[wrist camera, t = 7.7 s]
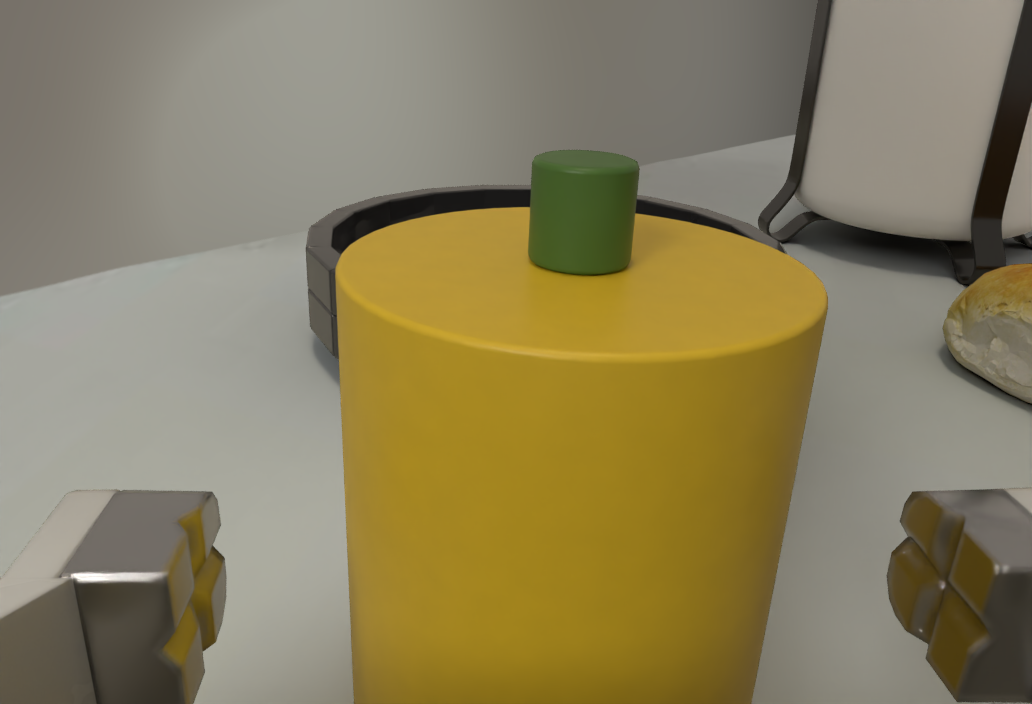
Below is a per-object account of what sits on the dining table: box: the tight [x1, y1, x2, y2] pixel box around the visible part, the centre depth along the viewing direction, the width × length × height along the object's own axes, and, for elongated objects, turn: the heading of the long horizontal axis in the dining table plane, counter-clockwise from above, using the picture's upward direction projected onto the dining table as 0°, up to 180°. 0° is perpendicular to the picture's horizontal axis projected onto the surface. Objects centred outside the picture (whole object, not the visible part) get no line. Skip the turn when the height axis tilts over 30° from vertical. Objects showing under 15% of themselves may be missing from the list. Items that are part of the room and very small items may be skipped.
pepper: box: [335, 150, 828, 704], centre depth 11 cm, size 6×6×9 cm
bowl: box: [306, 185, 787, 359], centre depth 29 cm, size 16×16×4 cm
